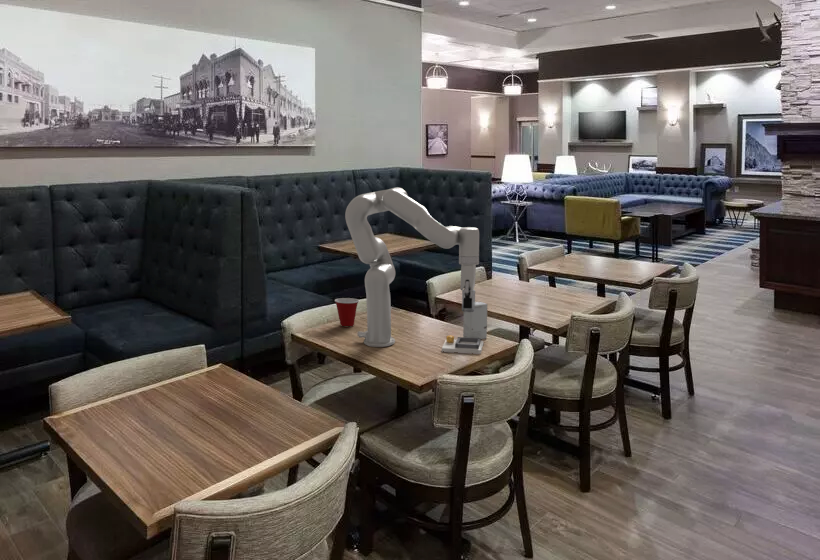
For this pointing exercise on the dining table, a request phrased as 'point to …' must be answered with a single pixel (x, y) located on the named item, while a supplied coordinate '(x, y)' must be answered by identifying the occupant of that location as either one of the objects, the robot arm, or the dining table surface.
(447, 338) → the button
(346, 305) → the plastic cup
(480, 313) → the skincare box
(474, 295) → the block
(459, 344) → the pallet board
